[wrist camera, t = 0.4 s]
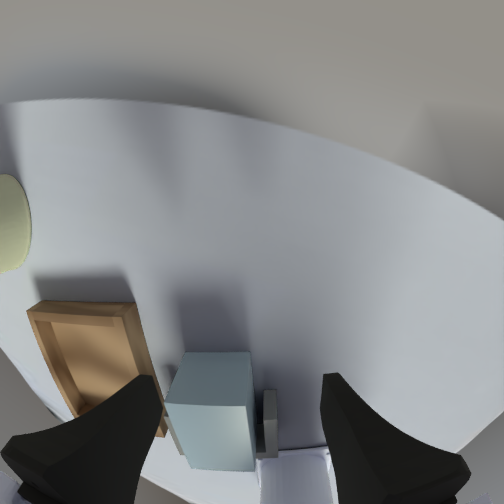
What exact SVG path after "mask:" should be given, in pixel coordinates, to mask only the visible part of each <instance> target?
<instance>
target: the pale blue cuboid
mask: <svg viewBox="0 0 504 504" xmlns="http://www.w3.org/2000/svg"><path fill="white" fill-rule="evenodd" d="M164 405H165V407H166V410H167V413H168V415H169V418H170V421H171V423H172V426H173V428H174V431H175V433H176V436H177V438H178V440H179V443H180V445H181V447H182V450H183V452H184V454H185V456H186V459H187V461H188V463H189V465H190V467H191V468H192V469H203V470H216V471H243V472H255V461H256V436H257V415H256V405H255V395H254V385H253V375H252V365H251V355H250V351H248V352H185V354H184V357H183V359H182V361H181V364H180V366H179V368H178V371H177V373H176V375H175V377H174V380H173V382H172V384H171V387H170V389H169V392H168V394H167V396H166V399H165V401H164Z"/></svg>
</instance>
